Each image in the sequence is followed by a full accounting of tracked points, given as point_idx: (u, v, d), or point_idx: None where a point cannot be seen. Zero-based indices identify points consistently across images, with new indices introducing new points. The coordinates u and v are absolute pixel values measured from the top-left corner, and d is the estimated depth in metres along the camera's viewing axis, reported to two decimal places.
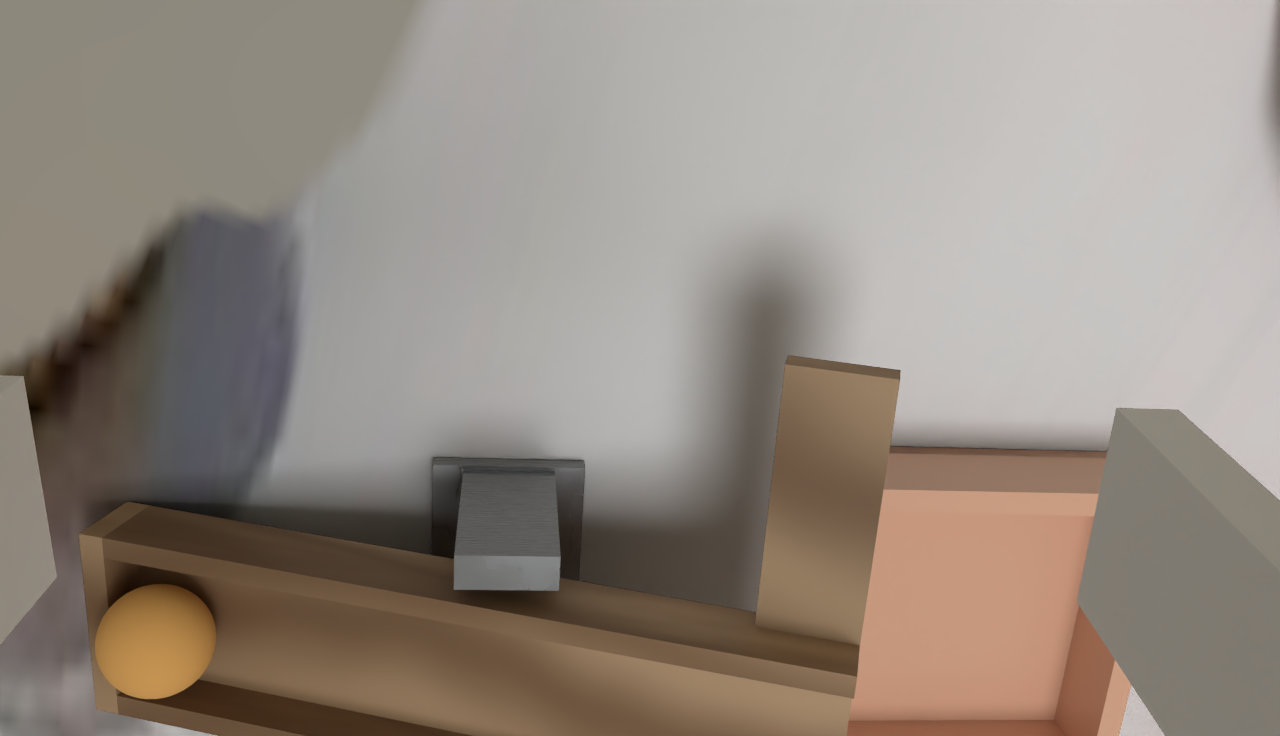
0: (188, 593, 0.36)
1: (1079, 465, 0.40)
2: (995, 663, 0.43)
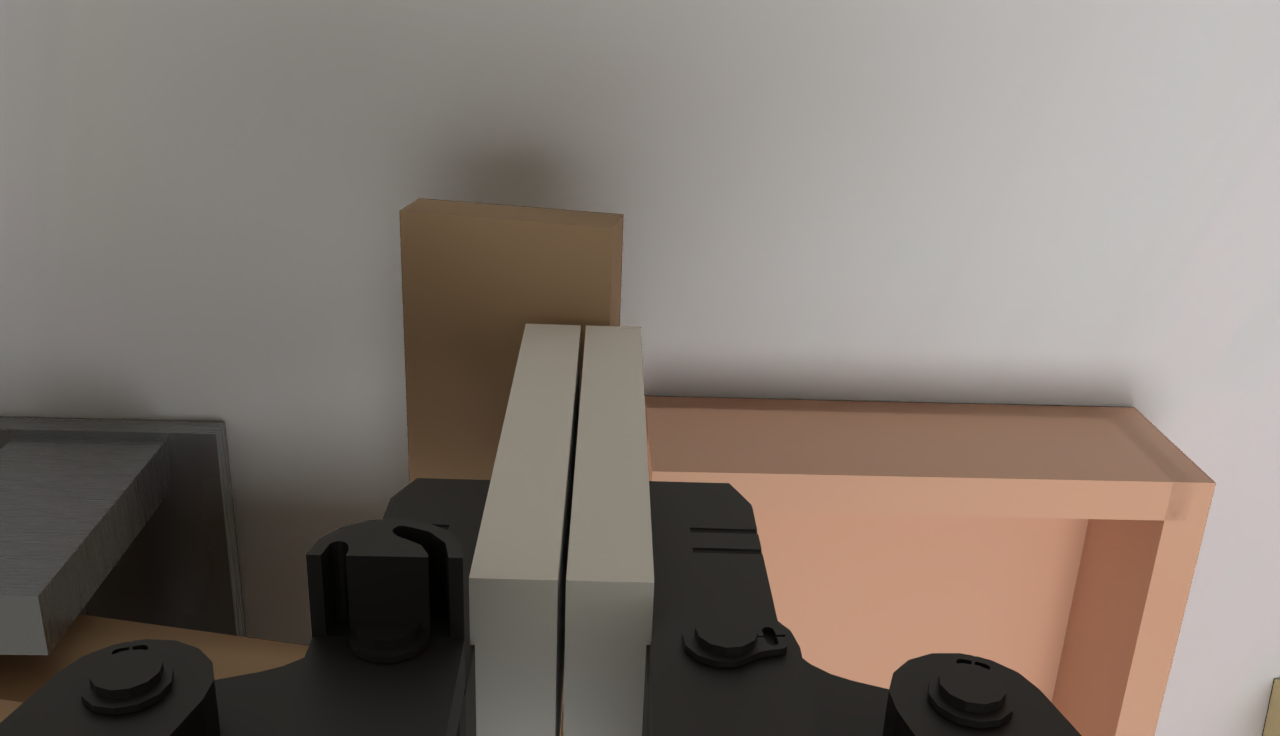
0: None
1: (1050, 430, 0.23)
2: None
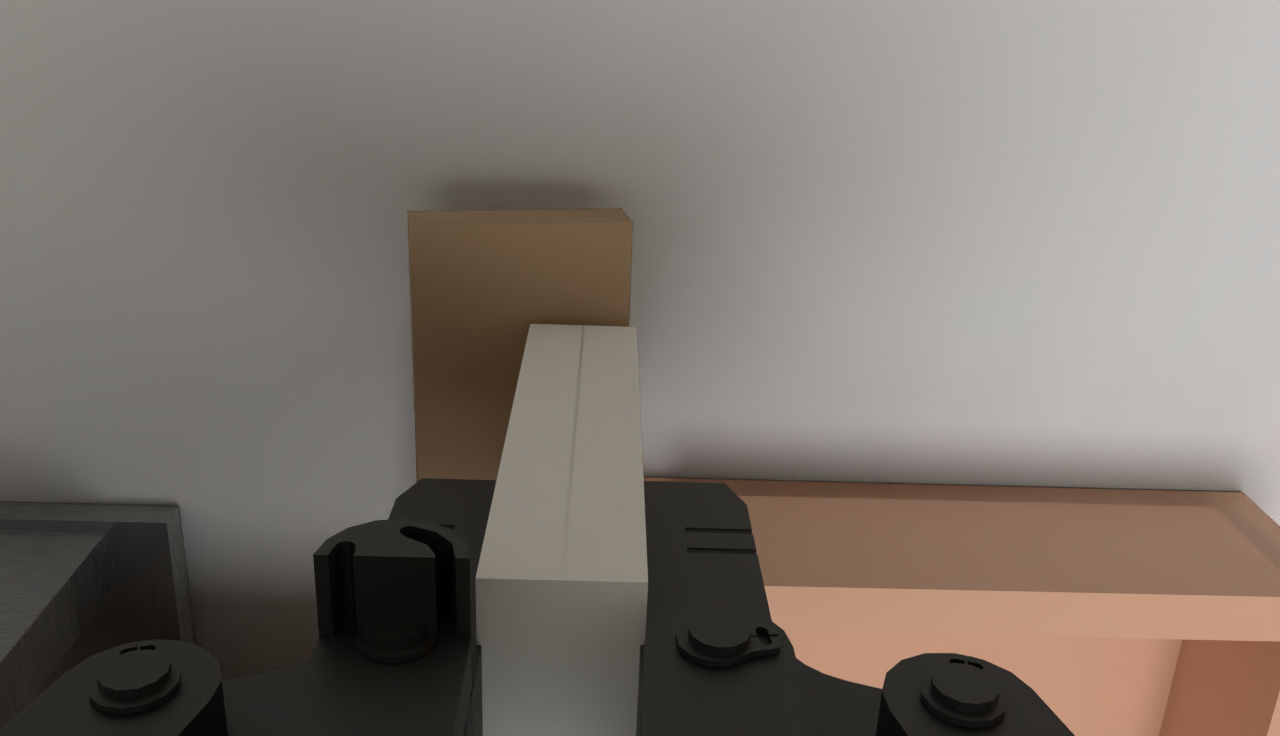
0: None
1: (1149, 524, 0.20)
2: None
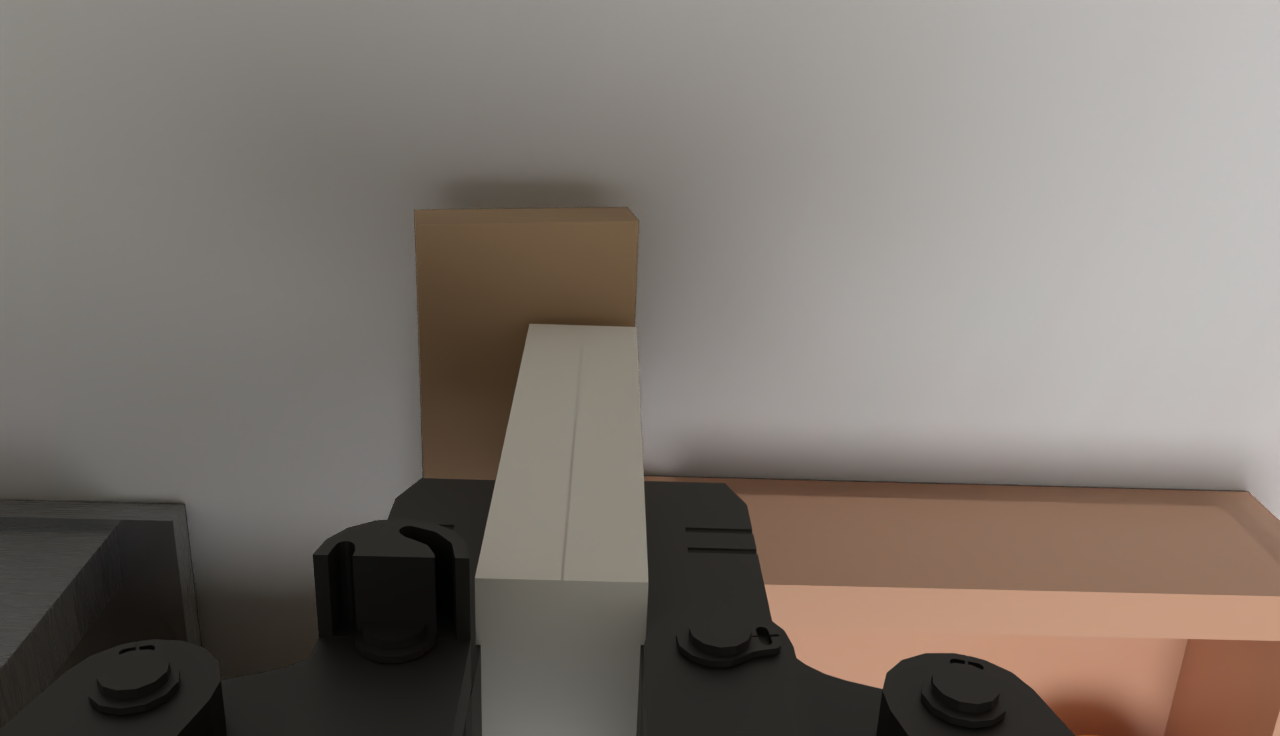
0: None
1: (1154, 524, 0.20)
2: None
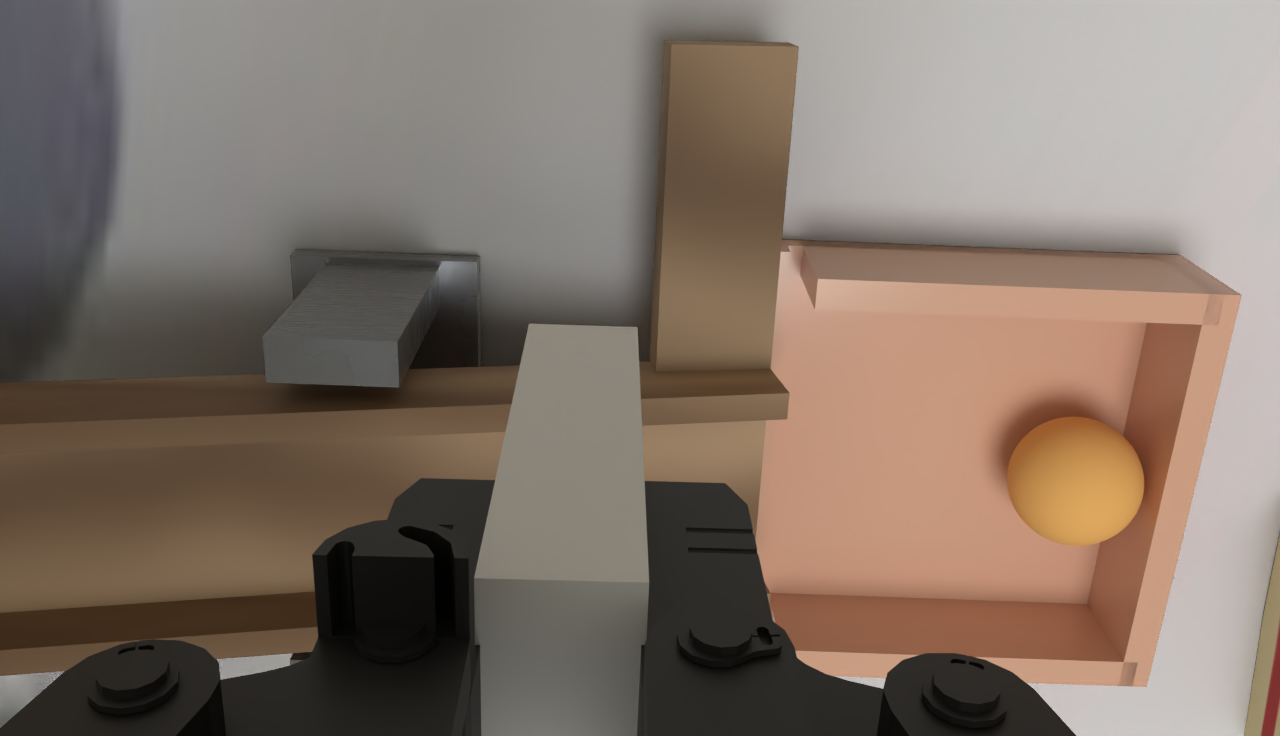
0: None
1: (1114, 265, 0.31)
2: (1009, 528, 0.34)
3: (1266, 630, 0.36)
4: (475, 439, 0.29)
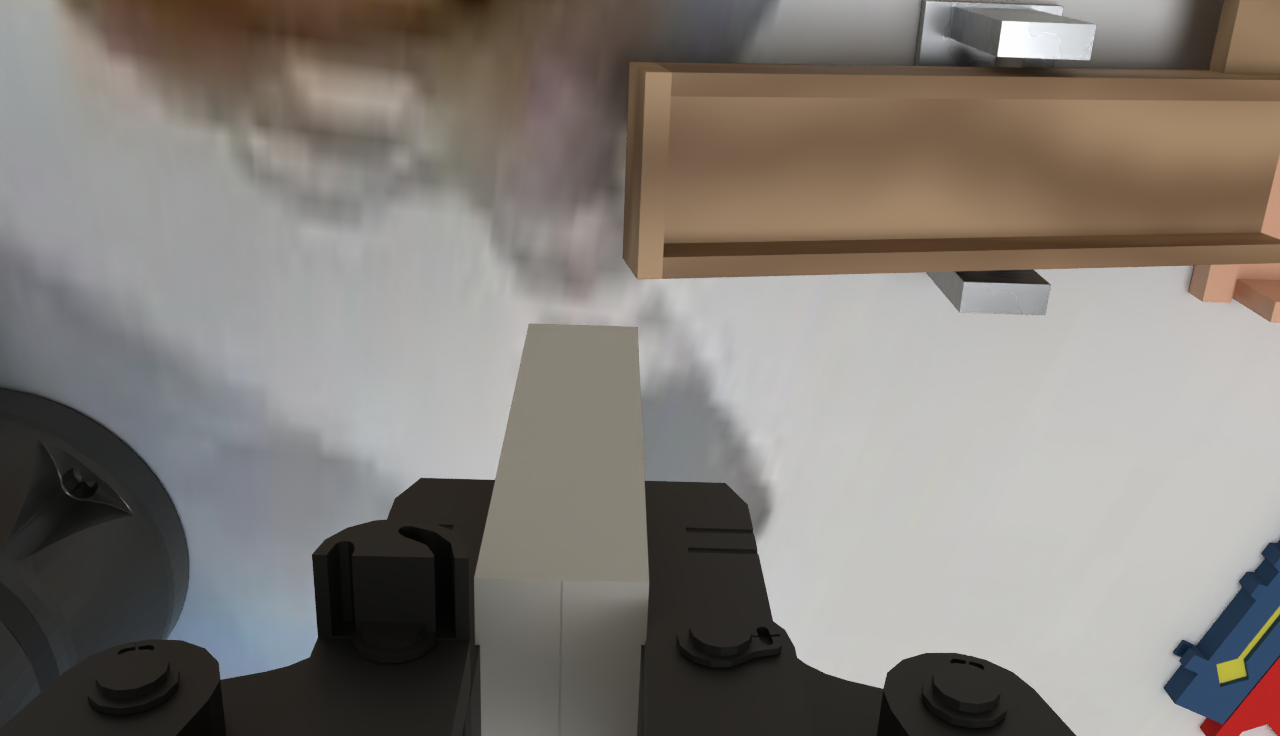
0: None
1: None
2: None
3: None
4: (1098, 120, 0.40)
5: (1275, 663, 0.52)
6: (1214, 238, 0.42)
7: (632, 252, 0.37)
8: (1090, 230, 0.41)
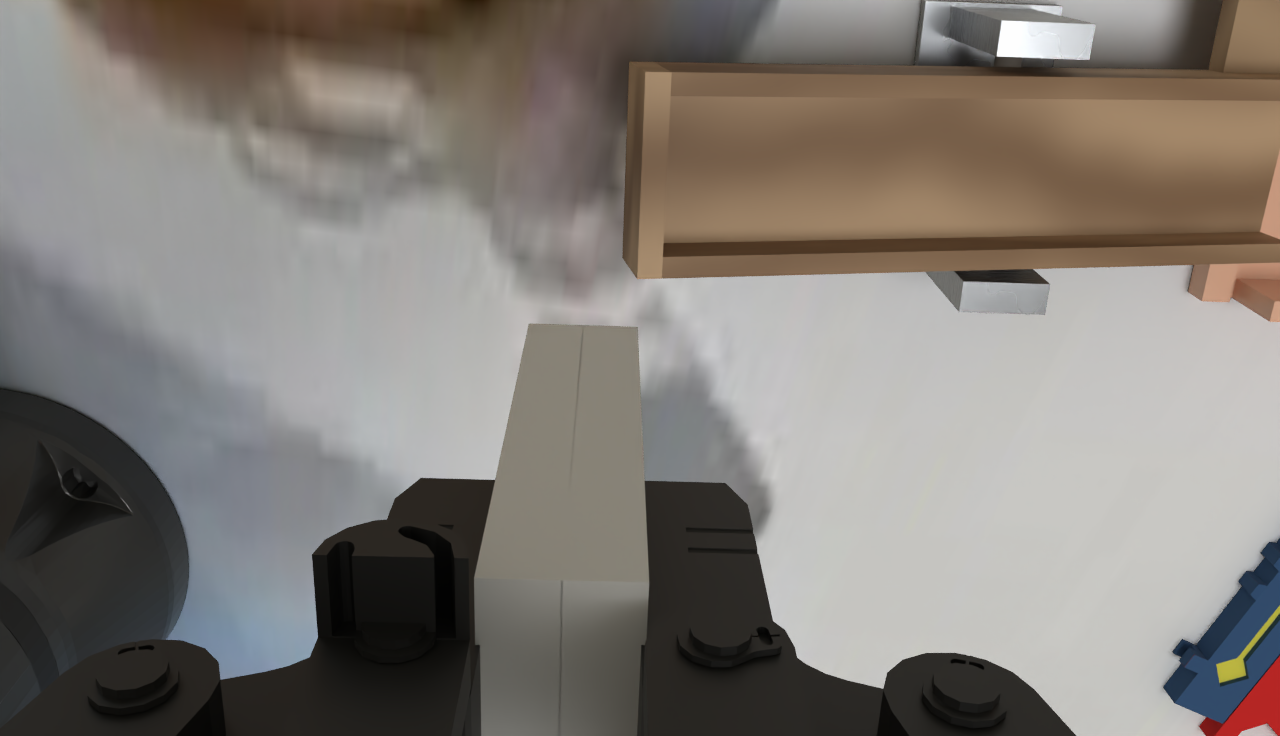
0: None
1: None
2: None
3: None
4: (1097, 119, 0.40)
5: (1274, 663, 0.52)
6: (1213, 237, 0.42)
7: (632, 252, 0.37)
8: (1089, 230, 0.41)
